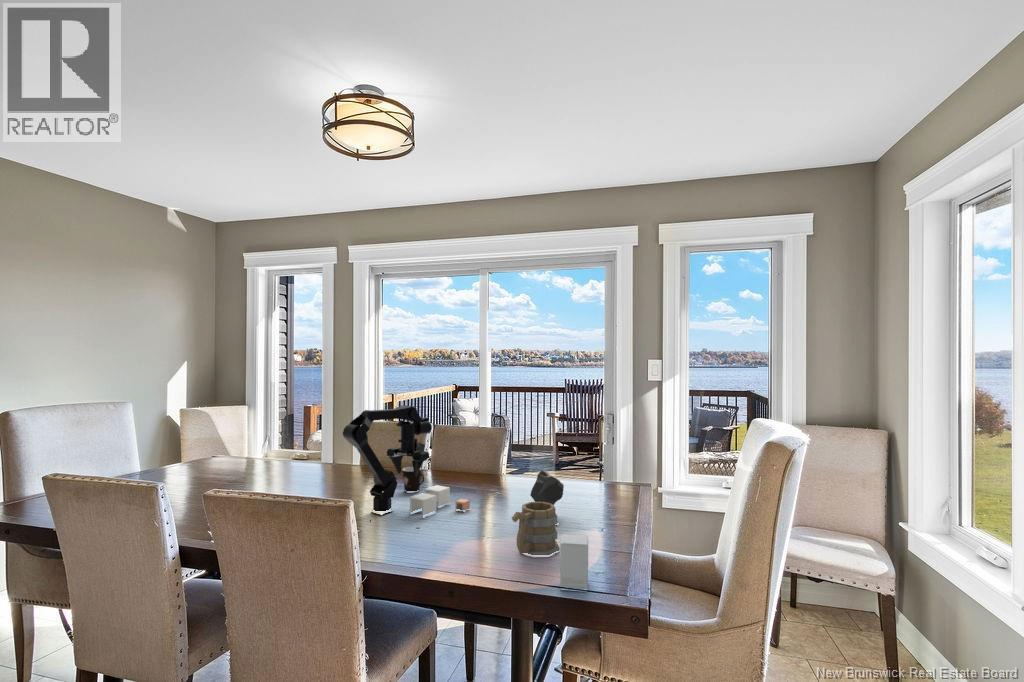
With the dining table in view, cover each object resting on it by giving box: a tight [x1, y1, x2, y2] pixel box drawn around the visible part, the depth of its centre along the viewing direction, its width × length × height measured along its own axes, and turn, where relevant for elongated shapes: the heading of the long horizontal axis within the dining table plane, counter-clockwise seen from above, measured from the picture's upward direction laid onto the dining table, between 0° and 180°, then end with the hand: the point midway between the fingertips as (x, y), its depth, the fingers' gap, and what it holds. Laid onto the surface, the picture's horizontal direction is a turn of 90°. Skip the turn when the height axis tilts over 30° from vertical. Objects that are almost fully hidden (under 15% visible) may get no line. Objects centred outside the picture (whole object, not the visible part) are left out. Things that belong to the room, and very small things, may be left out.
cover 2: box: [424, 484, 451, 507], centre depth 214 cm, size 7×7×7 cm
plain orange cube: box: [455, 498, 471, 510], centre depth 207 cm, size 4×4×4 cm
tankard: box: [511, 501, 560, 555], centre depth 164 cm, size 20×13×15 cm, turn 141°
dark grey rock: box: [529, 469, 565, 524], centre depth 199 cm, size 14×15×18 cm
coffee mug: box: [401, 466, 425, 491], centre depth 233 cm, size 12×9×10 cm
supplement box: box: [559, 533, 589, 590], centre depth 141 cm, size 7×7×13 cm
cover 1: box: [409, 492, 437, 516], centre depth 202 cm, size 7×7×7 cm
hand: (407, 474), depth 214 cm, fingers open, 9 cm apart
